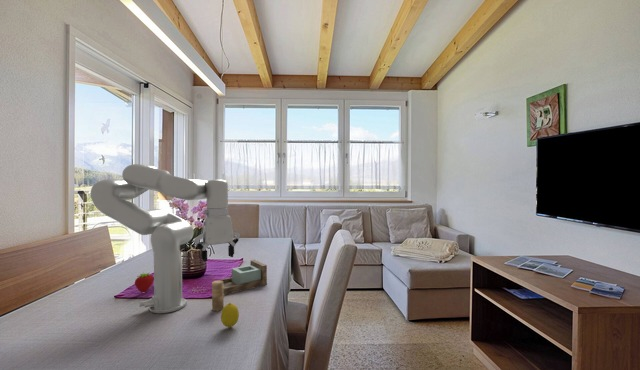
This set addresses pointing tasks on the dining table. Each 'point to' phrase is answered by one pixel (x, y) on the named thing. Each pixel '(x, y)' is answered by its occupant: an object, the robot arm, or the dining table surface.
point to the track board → (232, 287)
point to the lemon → (229, 315)
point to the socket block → (245, 274)
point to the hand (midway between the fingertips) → (218, 258)
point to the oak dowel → (217, 296)
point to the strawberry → (144, 282)
